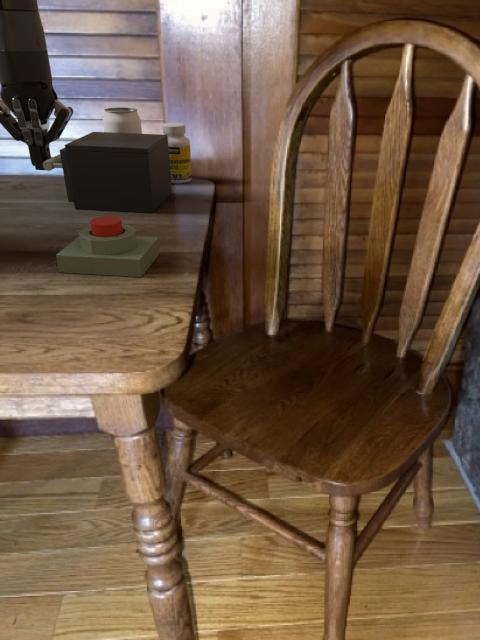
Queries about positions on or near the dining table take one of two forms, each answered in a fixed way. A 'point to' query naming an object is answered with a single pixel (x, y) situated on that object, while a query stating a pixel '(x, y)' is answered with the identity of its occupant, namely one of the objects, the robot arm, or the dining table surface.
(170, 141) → the supplement bottle
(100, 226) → the button
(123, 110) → the can
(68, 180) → the drawer
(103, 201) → the dark grey storage box
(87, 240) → the control block
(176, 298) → the dining table surface
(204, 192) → the dining table surface
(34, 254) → the dining table surface
